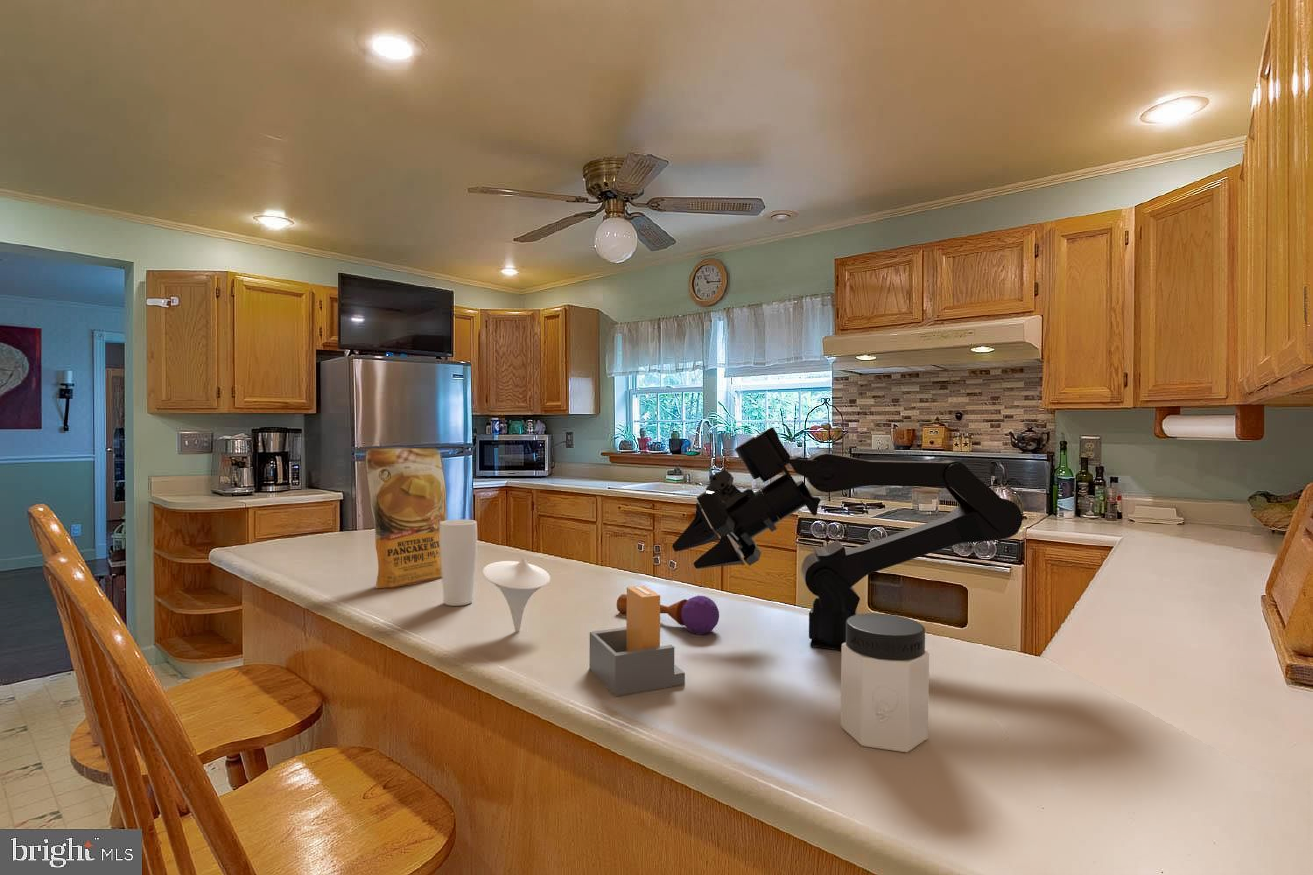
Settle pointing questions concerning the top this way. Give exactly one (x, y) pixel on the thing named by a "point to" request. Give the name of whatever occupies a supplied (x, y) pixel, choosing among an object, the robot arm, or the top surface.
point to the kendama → (687, 613)
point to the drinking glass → (458, 560)
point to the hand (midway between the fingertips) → (684, 557)
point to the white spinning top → (516, 584)
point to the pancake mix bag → (406, 513)
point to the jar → (885, 682)
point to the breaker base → (631, 664)
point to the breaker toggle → (642, 618)
